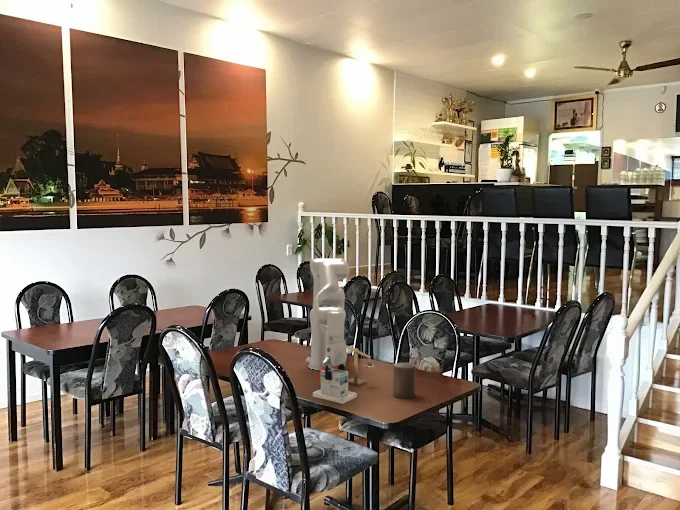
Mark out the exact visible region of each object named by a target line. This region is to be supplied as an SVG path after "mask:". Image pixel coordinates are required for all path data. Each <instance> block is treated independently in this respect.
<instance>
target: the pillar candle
mask: <svg viewBox="0 0 680 510" xmlns="http://www.w3.org/2000/svg"><path fill="white" fill-rule="evenodd" d="M392 378H393V379H392V380H393V382H392V386H393V387H392V395H393V397H395V398H398V399H411V398H412V397H413V398H414V397H415V396H416V394H415V393H416V364H414V363H411V362H405V361H404V362H396V363H393V377H392Z"/></svg>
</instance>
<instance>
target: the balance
mask: <svg viewBox="0 0 680 510" xmlns="http://www.w3.org/2000/svg"><path fill="white" fill-rule="evenodd" d="M345 346H346V349H348V350H350V351H353V353H354V355H353V357H354V358H353V361H354V362H353V364H354V366H353V368H354V369H353V370H354V371H353V377H351V378H348V385H351V384H352V385H351V386H355V385H356V387H361V386H363V385H366V384H367V380H363V379H360V378H358V368H359V367H358V365H359V363H358V360H359V359H358V358H359V356H358V354H359V355H361V356H363V357H364V358H367V359H369V360H368V361H367V364H365V365H364V368H368V369H373V368H375V367H376V366H375V365H374V364H373V362H372V361H371V358H372V357H371V356H370V355H368V354H367V353H364V352H362V351H361V350H359V348H357V347H356V348H355V347H354V348H353V347H351V346H349V345H347V344H345ZM346 354H347V355H348V352H347V351H346Z"/></svg>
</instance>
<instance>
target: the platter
mask: <svg viewBox="0 0 680 510" xmlns="http://www.w3.org/2000/svg"><path fill="white" fill-rule="evenodd" d="M312 397H313V398H317V399H320V400H321V399H323V400H326V401H330V402H334V403H338V404H346V403H347V402H349V401H352V400H354V399H355V398H357V397H358V393H357V392H354V391H350V390H348V395H347V396H344V397H342V398H337V397H333V396H329V395H324V394H321V388H320V389H318V390H316V391H314V392H312Z"/></svg>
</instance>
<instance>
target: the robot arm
mask: <svg viewBox="0 0 680 510" xmlns="http://www.w3.org/2000/svg"><path fill="white" fill-rule="evenodd" d="M309 268H310V269H309V270H310V272H311V274H312V277H313V289H312V291H313V293H312V295H313V296H312V297H313V298H312V299H313V302H312V309H311V310H310V312H309V321H310V331H311V336H310V338H311V339H310V342H311V343H310V344H311V345H310V346H311V347H310V348H311V349H310V351H311V352H310V355H311V356H310V357H309V356H307V357H306V359H305V363H309V364H308V366H307V368H308V367H309V368H310V370H312V369H314V370H313V371H320V369H321V368H322V367H323V368H324V371H325V379H326V380H332V371H331V369H332V367H335V366H336V367H338V370H344V371H346V367H345V366H346V363H347V360H348V359H347V358H348V354H346V352H347V351H346V350H347V348H346V346H345V345H346V341H345V320H346V317H347V313H346V310H345V291H344V289H343V288H342V287H340V285H339V279H340V280H341V279H342V280H346V279H348V278H349V276H350V266H349V263H348V262H347V261H346V260H345V258H342V257H341V258H339V257H329V258H328V257H320V258H319V257H318V258H317V257H316V258H312V259H311V260H310V262H309ZM309 368H308V369H309Z"/></svg>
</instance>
